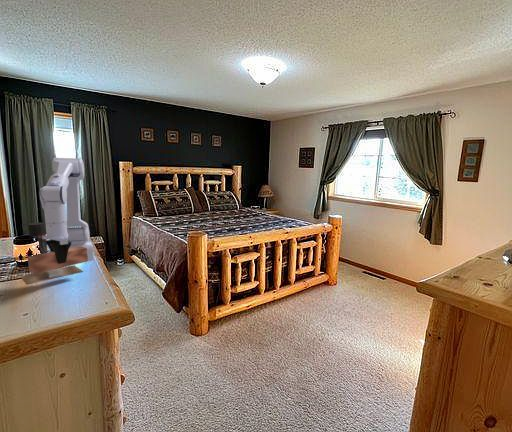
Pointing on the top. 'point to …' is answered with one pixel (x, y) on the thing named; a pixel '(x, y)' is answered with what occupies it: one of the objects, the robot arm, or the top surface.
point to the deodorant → (38, 235)
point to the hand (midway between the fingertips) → (59, 261)
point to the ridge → (54, 273)
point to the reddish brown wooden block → (50, 262)
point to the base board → (42, 277)
